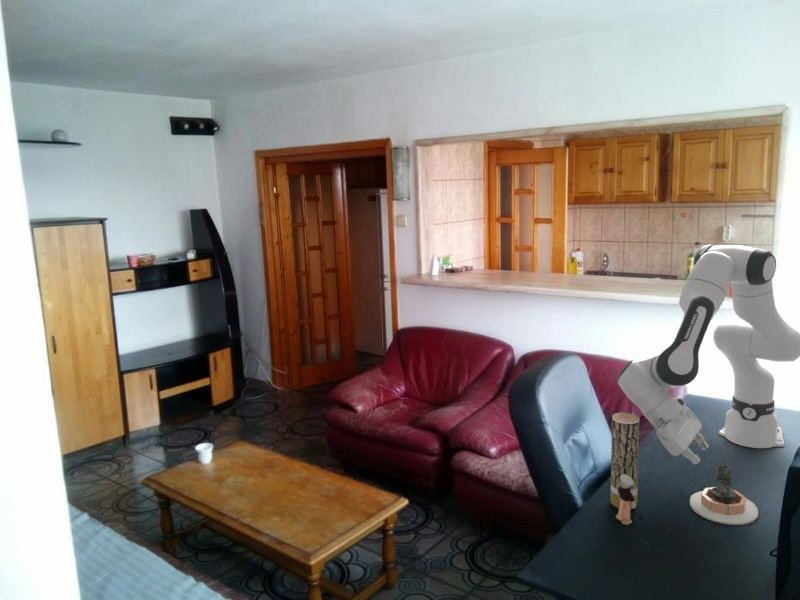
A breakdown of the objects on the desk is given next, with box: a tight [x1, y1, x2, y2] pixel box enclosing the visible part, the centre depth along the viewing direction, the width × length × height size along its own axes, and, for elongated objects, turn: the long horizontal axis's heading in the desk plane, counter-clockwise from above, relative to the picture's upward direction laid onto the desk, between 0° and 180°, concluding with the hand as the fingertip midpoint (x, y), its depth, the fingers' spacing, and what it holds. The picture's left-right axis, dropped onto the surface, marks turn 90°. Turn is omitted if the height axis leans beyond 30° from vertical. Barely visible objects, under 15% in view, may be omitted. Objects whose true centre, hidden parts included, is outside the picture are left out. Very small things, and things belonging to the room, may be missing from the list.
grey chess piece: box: [711, 462, 736, 504], centre depth 164 cm, size 6×6×12 cm
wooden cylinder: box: [610, 411, 640, 510], centre depth 167 cm, size 7×7×25 cm
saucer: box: [689, 486, 759, 526], centre depth 165 cm, size 16×16×4 cm
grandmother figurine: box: [615, 474, 637, 526], centre depth 160 cm, size 8×4×13 cm, turn 23°
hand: (702, 455), depth 166 cm, fingers open, 8 cm apart
